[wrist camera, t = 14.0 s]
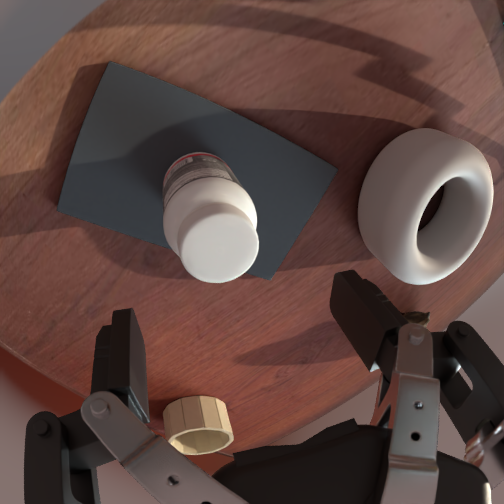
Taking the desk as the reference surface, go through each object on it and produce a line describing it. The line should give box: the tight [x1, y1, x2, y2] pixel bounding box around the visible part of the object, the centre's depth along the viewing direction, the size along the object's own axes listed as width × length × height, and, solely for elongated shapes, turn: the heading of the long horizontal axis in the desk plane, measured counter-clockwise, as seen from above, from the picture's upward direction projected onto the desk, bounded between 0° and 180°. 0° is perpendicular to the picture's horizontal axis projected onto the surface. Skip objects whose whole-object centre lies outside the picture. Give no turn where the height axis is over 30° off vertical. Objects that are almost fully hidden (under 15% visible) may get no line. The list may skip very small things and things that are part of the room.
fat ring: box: [358, 128, 493, 285], centre depth 27 cm, size 15×15×7 cm
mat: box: [57, 61, 338, 280], centre depth 24 cm, size 20×12×1 cm, turn 61°
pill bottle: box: [163, 152, 259, 283], centre depth 20 cm, size 5×5×10 cm
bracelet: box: [163, 395, 234, 455], centre depth 38 cm, size 9×9×5 cm
